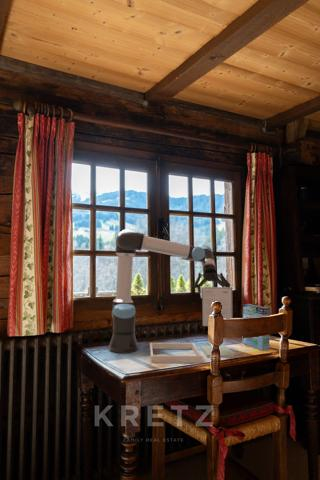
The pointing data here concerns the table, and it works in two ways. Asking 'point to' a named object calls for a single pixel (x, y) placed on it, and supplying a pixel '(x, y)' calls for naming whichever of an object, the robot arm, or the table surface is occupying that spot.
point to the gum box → (256, 311)
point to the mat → (224, 350)
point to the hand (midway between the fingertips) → (214, 297)
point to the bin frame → (175, 358)
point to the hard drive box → (214, 295)
